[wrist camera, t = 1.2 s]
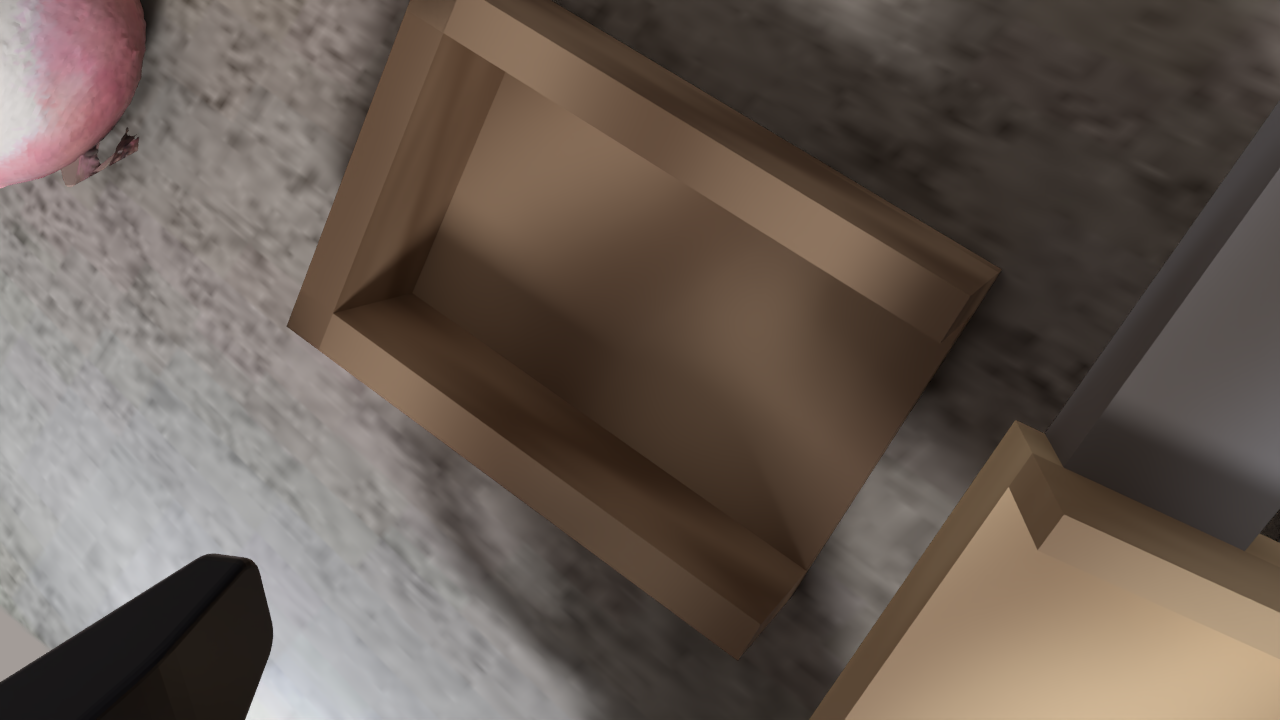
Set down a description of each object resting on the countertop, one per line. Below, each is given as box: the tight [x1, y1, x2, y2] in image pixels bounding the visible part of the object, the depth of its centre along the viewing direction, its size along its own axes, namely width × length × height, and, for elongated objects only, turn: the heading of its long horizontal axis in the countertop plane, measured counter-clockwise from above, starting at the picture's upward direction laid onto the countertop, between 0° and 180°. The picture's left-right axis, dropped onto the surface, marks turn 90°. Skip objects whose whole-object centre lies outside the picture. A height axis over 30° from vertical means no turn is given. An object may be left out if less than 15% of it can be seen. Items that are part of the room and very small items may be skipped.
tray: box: [287, 0, 1002, 661], centre depth 26 cm, size 13×9×3 cm
